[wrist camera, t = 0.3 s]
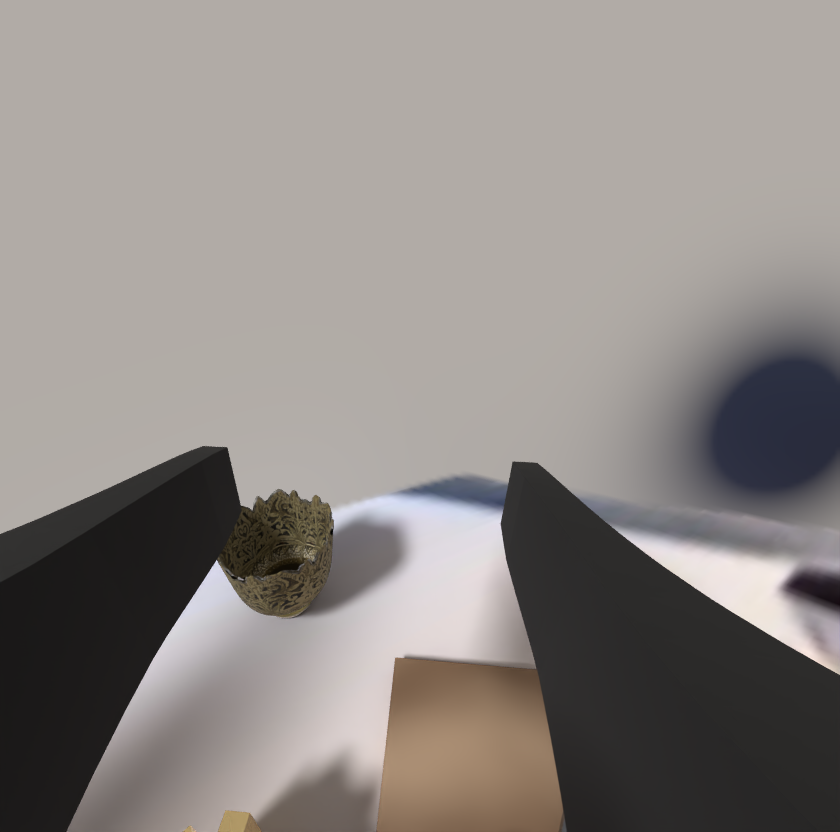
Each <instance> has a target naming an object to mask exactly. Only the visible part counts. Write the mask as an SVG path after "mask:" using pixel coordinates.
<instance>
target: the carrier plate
mask: <svg viewBox="0 0 840 832" xmlns="http://www.w3.org/2000/svg"><path fill="white" fill-rule="evenodd" d="M562 813H563V805H562V799H561V793H560V788H559V782H558V776H557V771H556V765H555V760H554V754H553V749H552V743H551V737H550V732H549V727H548V722H547V716H546V711H545V706H544V701H543V696H542V691H541V686H540V680H539V676H538V672H537V670H534V669H523V668H511V667H499V666H488V665H476V664H464V663H453V662H441V661H429V660H417V659H406V658H395V665H394V674H393V683H392V692H391V702H390V711H389V720H388V729H387V738H386V748H385V757H384V766H383V775H382V784H381V794H380V803H379V812H378V821H377V831H376V832H559V827H560V822H561V818H562Z"/></svg>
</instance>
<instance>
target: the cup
mask: <svg viewBox="0 0 840 832" xmlns="http://www.w3.org/2000/svg"><path fill="white" fill-rule="evenodd" d="M241 509H242V512H241V514H240V516H239V518H238V520H237V523H236V525H235V527H234V529H233V531H232V533H231V535H230V537H229V539H228V541H227V543H226V545H225V547H224V549H223V551H222V552H221V554H220V555H219V557H218V559H217V561H218V563H219V565H220V566H221V568H222V570H223V571H224V573H225V575H226V576H227V578H228V580H229V581H230V583H231V585H232V586H233V588H234V590H235V591H236V592H237V594H238V595H239V597H240V598H241V599H242V601H243V602H244V603H245V604H246V605H248V606H249V607H250V608H251V609H253V610H255V611H257V612H259V613H261V614H265V615H271V616H276V617H279V618H292V617H295V616H297V615H299V614H301V613H302V612H304V611H305V610H306V609H307V608H308V607H309V605H310V604H311V602H312V600H313V599H314V598H315V597H316V596H317V595H318V594H319V592H320V591H321V590H322V588H323V586H324V584H325V582H326V580H327V577H328V574H329V571H330V566H331V558H332V542H333V529H334V520H332V512H331V509H330V506H329V504H328V503H324V502H323V503H322V502H321V499H320V497H318V496H317V495H315V496H314V497H313V498H312V501H311V502H309V501H308V500H307V499H304V500H303V499H302V500H301V499H300V497H299V496H298V494H297V492H296V491H295V490H293V491H292V492H291V493H290V495H288V494H287V493H286V492H284V491H283V490H280V489H278V490H276V491H274V492H273V493H272V494H271V495H270V497H269V498H268V500H266V501H264V500H263V499H262V498H260V497H259V496H257V497H256V498H255V501H254V507H253V511H252V510H251V509H250V508H248V507H244V506H241Z"/></svg>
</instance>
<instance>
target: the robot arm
mask: <svg viewBox="0 0 840 832" xmlns="http://www.w3.org/2000/svg"><path fill="white" fill-rule="evenodd" d="M241 512H242V509H241V505H240V500H239V496H238V492H237V487H236V483H235V479H234V474H233V470H232V466H231V462H230V457H229V453H228V448H227V447H209V446H202V447H200V448H197V449H194V450H191V451H189V452H186V453H184V454H182V455H179V456H177V457H175V458H173V459H171V460H168V461H166V462H164V463H162V464H159V465H157V466H155V467H153V468H151V469H149V470H147V471H144V472H142V473H140V474H138V475H136V476H134V477H132V478H129V479H127V480H125V481H123V482H121V483H119V484H117V485H114V486H112V487H110V488H108V489H106V490H103V491H101V492H99V493H97V494H94V495H92V496H90V497H87V498H85V499H83V500H81V501H79V502H76V503H74V504H71V505H69V506H67V507H65V508H63V509H60V510H58V511H55V512H53V513H51V514H49V515H46V516H44V517H42V518H39V519H37V520H35V521H32V522H30V523H27V524H25V525H22V526H20V527H17V528H15V529H12V530H10V531H7V532H5V533H2V534H0V832H66V831H67V829H68V827H69V825H70V823H71V821H72V818H73V816H74V814H75V812H76V810H77V808H78V806H79V804H80V801H81V799H82V797H83V795H84V793H85V791H86V789H87V787H88V784H89V782H90V780H91V778H92V776H93V774H94V772H95V770H96V768H97V766H98V764H99V762H100V760H101V758H102V756H103V754H104V752H105V750H106V748H107V746H108V744H109V742H110V740H111V738H112V736H113V734H114V732H115V730H116V728H117V726H118V724H119V722H120V720H121V718H122V716H123V714H124V712H125V710H126V708H127V707H128V705H129V703H130V701H131V699H132V697H133V695H134V694H135V692H136V690H137V688H138V686H139V684H140V682H141V680H142V679H143V677H144V675H145V673H146V671H147V669H148V667H149V666H150V664H151V662H152V660H153V658H154V657H155V655H156V653H157V652H158V650H159V648H160V647H161V645H162V643H163V642H164V640H165V638H166V637H167V635H168V634H169V632H170V631H171V629H172V628H173V626H174V625H175V623H176V621H177V620H178V618H179V617H180V615H181V614H182V612H183V611H184V609H185V608H186V606H187V605H188V603H189V602H190V600H191V599H192V597H193V596H194V594H195V592H196V591H197V589H198V588H199V586H200V585H201V583H202V582H203V580H204V579H205V577H206V576H207V574H208V573H209V571H210V569H211V568H212V566H213V565H214V563H215V562H216V560H217V559H218V557H219V555H220V554H221V552H222V551H223V549H224V547H225V545H226V543H227V541H228V539H229V537H230V535H231V533H232V531H233V529H234V527H235V525H236V523H237V520H238V518H239V516H240V514H241ZM501 529H502V536H503V542H504V549H505V555H506V561H507V564H508V568H509V572H510V575H511V579H512V582H513V586H514V589H515V593H516V596H517V600H518V603H519V607H520V610H521V614H522V617H523V621H524V624H525V628H526V631H527V635H528V638H529V642H530V645H531V649H532V652H533V656H534V660H535V664H536V668H537V672H538V676H539V680H540V686H541V691H542V696H543V701H544V706H545V711H546V716H547V722H548V727H549V732H550V737H551V743H552V749H553V754H554V760H555V765H556V771H557V776H558V782H559V788H560V793H561V799H562V805H563V812H564V818H565V824H566V830H567V832H840V675H839V674H837V673H835V672H833V671H831V670H830V669H828V668H826V667H824V666H822V665H821V664H819V663H817V662H815V661H814V660H812V659H810V658H808V657H807V656H805V655H803V654H801V653H800V652H798V651H796V650H794V649H793V648H791V647H789V646H787V645H786V644H784V643H782V642H780V641H779V640H777V639H775V638H774V637H772V636H770V635H769V634H767V633H766V632H764V631H762V630H761V629H759V628H757V627H756V626H754V625H752V624H751V623H749V622H747V621H746V620H744V619H742V618H741V617H739V616H738V615H736V614H734V613H733V612H731V611H729V610H728V609H726V608H725V607H723V606H721V605H720V604H718V603H717V602H715V601H714V600H712V599H710V598H709V597H707V596H706V595H704V594H703V593H701V592H700V591H698V590H697V589H695V588H694V587H692V586H691V585H690V584H688V583H687V582H685V581H684V580H682V579H681V578H679V577H678V576H676V575H675V574H673V573H672V572H671V571H669V570H668V569H666V568H665V567H663V566H662V565H661V564H659V563H658V562H656V561H655V560H654V559H652V558H651V557H650V556H648V555H647V554H645V553H644V552H643V551H642V550H640V549H639V548H638V547H636V546H635V545H634V544H633V543H631V542H630V541H629V540H627V539H626V538H625V537H623V536H622V535H621V534H620V533H618V532H617V531H616V530H615V529H613V528H612V527H611V526H610V525H609V524H607V523H606V522H605V521H604V520H602V519H601V518H600V517H599V516H598V515H596V514H595V513H594V512H593V511H592V510H591V509H589V508H588V507H587V506H586V505H585V504H584V503H582V502H581V501H580V500H579V499H578V498H577V497H576V496H575V495H573V494H572V493H571V492H570V491H569V490H568V489H567V488H565V487H564V486H563V485H562V484H561V483H560V482H559V481H558V480H556V479H555V478H554V477H553V476H552V475H551V474H550V473H549V472H547V471H546V470H545V469H544V468H543V467H541V466H540V465H539V464H538V463H529V462H513V463H512V468H511V473H510V478H509V484H508V489H507V494H506V499H505V504H504V509H503V514H502V520H501Z"/></svg>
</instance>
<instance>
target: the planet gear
mask: <svg viewBox="0 0 840 832" xmlns="http://www.w3.org/2000/svg"><path fill="white" fill-rule="evenodd" d="M183 832H196V831H195V830H194V829H193V828H192V827H191V826H189V827H188V828H187V829H186V830H184V831H183ZM218 832H261V830H260V828H259V827H258V825H257V824H256V822H255V820H254V819H253V817H252V816H251V814H250V813H247V812H237V811H225V814H224V816H223V819H222V822H221V824H220V827H219V830H218Z"/></svg>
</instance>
